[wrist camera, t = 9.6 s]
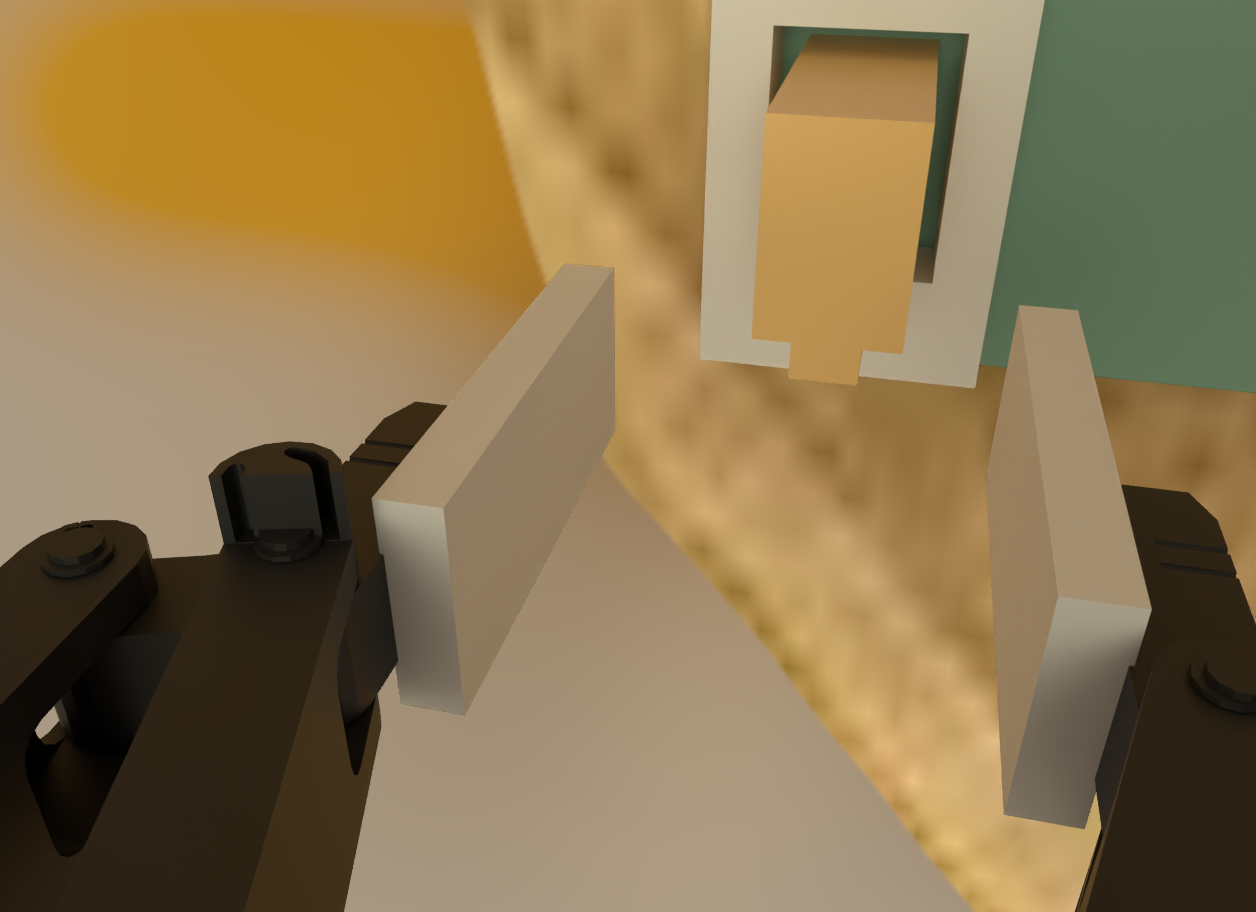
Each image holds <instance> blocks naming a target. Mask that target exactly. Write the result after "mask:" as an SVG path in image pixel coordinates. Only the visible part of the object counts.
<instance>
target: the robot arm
mask: <svg viewBox="0 0 1256 912" xmlns="http://www.w3.org/2000/svg"><path fill="white" fill-rule="evenodd" d="M614 431H615V330H614V268H608V267H597V266H586V265H575V264H564V265H563V266H562V267H561V268H560V270H559V271H558V272H557V273H556V274H555V276H554V277H553V278H552V279H551V281H550V282H549V283H548V284H547V285H546V287H545V288H544V289H543V290H542V292H541V293H540V294H539V295H538V296H537V298H536V299H535V300H534V301H533V302H532V304H531V305H530V306H529V307H528V309H527V310H526V311H525V312H524V314H523V315H522V316H521V317H520V318H519V320H518V321H517V322H516V323H515V324H514V326H513V327H512V328H511V329H510V331H509V332H508V333H507V334H506V335H505V337H504V338H503V339H502V340H501V342H500V343H499V344H498V345H497V346H496V348H495V349H494V350H493V351H492V352H491V354H490V355H489V356H488V357H487V358H486V360H485V361H484V362H483V363H482V365H481V366H480V367H479V368H478V370H477V371H476V372H475V373H474V374H473V376H472V377H471V378H470V379H469V381H468V382H467V383H466V384H465V385H464V386H463V388H462V389H461V390H460V391H459V393H458V394H457V395H456V396H455V397H454V399H453V400H452V401H451V403H450V404H449V405H448V406H447V405H438V404H430V403H423V402H414V403H413V404H410V405H409V406H407V407H405V408H403V409H401V410H399V411H398V412H395V413H394V414H392V415H390V416H388V417H386V418H384V419H383V420H382V421H381V423H380V424H379V425H378V426H377V427H376V428H375V429H374V430H373V431H372V433H371V434H370V435H369V436H368V437H367V438H366V439H365V444H361V445H360V446H359V447H358V448H357V449H356V450H355V451H354V452H353V453H352V455H351V456H350V460H349V461H345V462H344V463H343V465H342V462H341V459H339V457H338V456H337V455H336V454H335V453H334V452H333V451H332V450H330V449H327V448H325V447H322V446H319V445H316V444H313V443H303V442H281V443H272V444H264V445H261V446H257V447H254V448H251V449H248V450H244V451H241V452H239V453H237V454H235V455H234V456H232V457H230V458H228V459H227V460H225V461H223V462H221V463H220V464H219V465H218V466H217V467H216V468H215V469H214V471H213V472H212V473H211V474H210V475H209V476H208V477H209V481H210V485H211V490H212V494H213V498H214V503H215V507H216V511H217V516H218V520H219V525H220V529H221V533H222V537H223V542H224V545H223V547H222V549H221V551H220V553H219V554H215V555H207V556H190V557H174V558H157V559H152V555H151V552H150V548H149V544H148V540H147V537H146V535H145V534H144V533H143V532H142V531H141V530H140V529H139V528H138V527H136V526H135V525H132V524H129V523H125V522H121V521H118V520H91V521H82V522H81V523H78V522H77V523H72V524H68V525H65V526H63V527H61V528H59V529H56V530H54V531H51V532H49V533H46V534H44V535H41V536H40V537H38V538H37V539H35V540H34V541H32V542H31V543H29V544H28V545H26V546H25V547H23V548H22V549H21V550H19V551H18V552H17V553H16V554H15V555H14V556H13V557H12V558H10V559H9V560H8V561H7V562H6V563H5V564H3V565H2V566H1V567H0V912H344V908H345V904H346V899H347V894H348V889H349V884H350V879H351V874H352V869H353V864H354V859H355V854H356V849H357V844H358V839H359V835H360V829H361V825H362V819H363V815H364V810H365V804H366V799H367V795H368V790H369V785H370V780H371V775H372V770H373V765H374V760H375V755H376V750H377V746H378V740H379V736H380V730H381V715H380V707H379V700H378V692H379V690H380V689H381V687H382V686H383V684H384V683H385V681H386V679H387V678H388V676H389V675H390V673H391V672H392V670H393V668H394V667H395V666H396V673H397V680H398V687H399V694H400V701H401V704H405V705H410V706H415V707H421V708H426V709H432V710H437V711H442V712H449V713H453V714H459V715H464V716H465V714H466V712H467V710H468V709H469V707H470V705H471V703H472V701H473V699H474V697H475V695H476V693H477V692H478V689H479V688H480V686H481V684H482V682H483V680H484V678H485V676H486V674H487V673H488V671H489V669H490V667H491V665H492V663H493V661H494V659H495V657H496V655H497V653H498V652H499V650H500V648H501V646H502V644H503V642H504V640H505V638H506V636H507V634H508V633H509V631H510V629H511V627H512V625H513V623H514V621H515V619H516V617H517V615H518V614H519V612H520V610H521V608H522V606H523V604H524V602H525V600H526V598H527V597H528V595H529V593H530V591H531V589H532V587H533V585H534V583H535V581H536V580H537V578H538V576H539V574H540V572H541V570H542V568H543V566H544V564H545V562H546V561H547V558H548V557H549V555H550V553H551V551H552V549H553V547H554V545H555V543H556V541H557V540H558V538H559V536H560V534H561V532H562V530H563V528H564V526H565V524H566V523H567V521H568V519H569V517H570V515H571V513H572V511H573V509H574V507H575V505H576V503H577V502H578V500H579V498H580V496H581V494H582V492H583V490H584V488H585V487H586V484H587V483H588V481H589V479H590V477H591V475H592V473H593V471H594V469H595V468H596V466H597V464H598V462H599V460H600V458H601V456H602V454H603V452H604V450H605V449H606V447H607V445H608V443H609V441H610V439H611V437H612V435H613V433H614ZM986 483H987V502H988V521H989V540H990V559H991V579H992V598H993V617H994V636H995V655H996V675H997V694H998V713H999V732H1000V751H1001V770H1002V790H1003V809H1004V815H1009V816H1015V817H1020V818H1026V819H1031V820H1037V821H1042V822H1048V823H1053V824H1059V825H1064V826H1069V827H1075V828H1080V829H1085V826H1086V823H1087V819H1088V816H1089V813H1090V809H1091V806H1092V803H1093V800H1094V796H1095V793H1096V792H1097V799H1098V806H1099V813H1100V820H1101V827H1102V828H1101V831H1100V834H1099V837H1098V840H1097V844H1096V847H1095V850H1094V853H1093V856H1092V859H1091V862H1090V866H1089V869H1088V872H1087V875H1086V878H1085V881H1084V885H1083V888H1082V891H1081V894H1080V897H1079V900H1078V903H1077V907H1076V910H1075V912H1256V624H1255V621H1254V619H1253V616H1252V613H1251V610H1250V608H1249V605H1248V602H1247V600H1246V597H1245V594H1244V591H1243V589H1242V586H1241V583H1240V580H1239V579H1238V578H1236V573H1237V572H1236V570H1235V567H1234V564H1233V561H1232V559H1231V556H1230V555H1229V554H1227V551H1228V548H1227V545H1226V542H1225V540H1224V537H1223V534H1222V531H1221V529H1220V526H1219V523H1218V521H1217V519H1216V518H1215V517H1213V516H1212V515H1211V514H1210V513H1209V512H1208V511H1207V510H1206V509H1205V508H1204V507H1203V506H1202V505H1201V504H1200V503H1199V502H1198V501H1197V500H1196V499H1194V498H1193V497H1192V496H1191V495H1190V494H1189V493H1187V492H1179V491H1171V490H1162V489H1154V488H1146V487H1138V486H1129V485H1121V483H1120V479H1119V475H1118V471H1117V467H1116V463H1115V458H1114V454H1113V450H1112V446H1111V442H1110V438H1109V434H1108V430H1107V426H1106V422H1105V418H1104V414H1103V410H1102V406H1101V402H1100V398H1099V394H1098V390H1097V385H1096V381H1095V377H1094V373H1093V369H1092V365H1091V361H1090V357H1089V353H1088V349H1087V345H1086V341H1085V337H1084V333H1083V329H1082V325H1081V321H1080V317H1079V312H1078V310H1068V309H1057V308H1046V307H1035V306H1024V305H1019V309H1018V314H1017V319H1016V324H1015V329H1014V334H1013V340H1012V345H1011V350H1010V355H1009V360H1008V365H1007V371H1006V376H1005V381H1004V386H1003V391H1002V396H1001V401H1000V407H999V412H998V417H997V422H996V427H995V432H994V438H993V443H992V448H991V453H990V458H989V463H988V468H987V474H986ZM53 706H55V709H56V712H57V714H58V718H59V722H58V723H57V724H56V725H55V726H54V727H53V728H52V730H51V731H50V732H49V733H48V734H46V735H45V736H44V737H42V738H41V739H39V737H38V736H37V734H36V732H35V729H36V727H37V726H38V724H39V723H40V721H41V719H42V718H43V717H44V716H45V715H46V714H47V713H48V712H49V711H50V710H51V709H52V707H53Z"/></svg>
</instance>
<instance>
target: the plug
mask: <svg viewBox="0 0 1256 912" xmlns="http://www.w3.org/2000/svg"><path fill="white" fill-rule="evenodd" d="M938 49H939V39H920V38H898V37H875V36H853V35H830V34H811V35H810V37H809V39H808V40H807V42H806V44H805V46H804V47H803V49H802V51H801V53H800V54H799V56H798V58H797V59H796V61H795V63H794V65H793V66H792V68H791V70H790V71H789V73H788V75H787V77H786V78H785V80H784V82H783V84H782V85H781V87H780V89H779V90H778V92H777V94H776V96H775V97H774V99H773V101H772V103H771V104H770V106H769V108H768V109H767V111H766V113H765V129H764V145H763V161H762V177H761V193H760V209H759V225H758V241H757V257H756V274H755V290H754V306H753V322H752V338H751V339H758V340H768V341H778V342H787V343H791V348H790V360H789V373H788V378H789V379H798V380H807V381H816V382H825V383H834V384H844V385H853V386H857V385H858V378H859V372H860V365H861V359H862V353H863V350H865V351H875V352H885V353H895V354H903V349H904V341H905V334H906V327H907V320H908V313H909V306H910V299H911V291H912V284H913V277H914V270H915V263H916V256H917V248H918V241H919V234H920V227H921V220H922V213H923V206H924V198H925V191H926V184H927V177H928V170H929V163H930V155H931V148H932V141H933V134H934V127H935V113H936V92H937V71H938Z"/></svg>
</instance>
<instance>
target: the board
mask: <svg viewBox="0 0 1256 912" xmlns="http://www.w3.org/2000/svg"><path fill="white" fill-rule="evenodd" d="M811 34H830V35H853V36H875V37H898V38H920V39H939V49H938V71H937V92H936V113H935V127H934V134H933V141H932V148H931V155H930V163H929V170H928V177H927V184H926V191H925V198H924V206H923V213H922V220H921V227H920V234H919V241H918V248H917V256H916V263H915V270H914V277H913V284H912V291H911V299H910V306H909V313H908V320H907V327H906V334H905V341H904V349H903V354H895V353H885V352H875V351H865V350H863V353H862V359H861V365H860V372H859V376H863V377H872V378H881V379H891V380H900V381H909V382H919V383H928V384H937V385H947V386H956V387H965V388H975V386H976V380H977V375H978V369H979V365H988V366H997V367H1007V365H1008V360H1009V355H1010V350H1011V345H1012V340H1013V334H1014V329H1015V324H1016V319H1017V314H1018V309H1019V305H1024V306H1035V307H1046V308H1057V309H1068V310H1078V312H1079V317H1080V321H1081V325H1082V329H1083V333H1084V337H1085V341H1086V345H1087V349H1088V353H1089V357H1090V361H1091V365H1092V369H1093V373H1094V376H1095V377H1104V378H1114V379H1124V380H1134V381H1143V382H1153V383H1163V384H1172V385H1182V386H1192V387H1202V388H1211V389H1221V390H1231V391H1241V392H1250V393H1256V0H712V19H711V46H710V74H709V102H708V130H707V158H706V186H705V214H704V242H703V270H702V298H701V326H700V354H699V359H704V360H713V361H723V362H732V363H741V364H751V365H760V366H769V367H779V368H788V369H789V360H790V348H791V343H787V342H778V341H768V340H758V339H751V338H752V322H753V306H754V290H755V274H756V257H757V241H758V225H759V209H760V193H761V177H762V161H763V145H764V129H765V113H766V111H767V109H768V108H769V106H770V104H771V103H772V101H773V99H774V97H775V96H776V94H777V92H778V90H779V89H780V87H781V85H782V84H783V82H784V80H785V78H786V77H787V75H788V73H789V71H790V70H791V68H792V66H793V65H794V63H795V61H796V59H797V58H798V56H799V54H800V53H801V51H802V49H803V47H804V46H805V44H806V42H807V40H808V39H809V37H810V35H811Z"/></svg>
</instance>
